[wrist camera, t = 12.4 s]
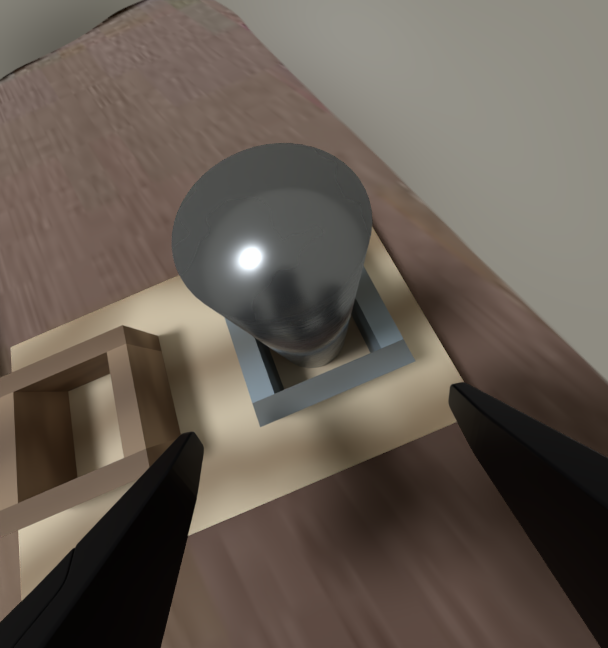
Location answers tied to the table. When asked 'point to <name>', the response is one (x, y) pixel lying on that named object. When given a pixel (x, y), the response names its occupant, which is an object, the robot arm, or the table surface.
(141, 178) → the table surface
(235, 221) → the grey long rounded piece
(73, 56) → the table surface
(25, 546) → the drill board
